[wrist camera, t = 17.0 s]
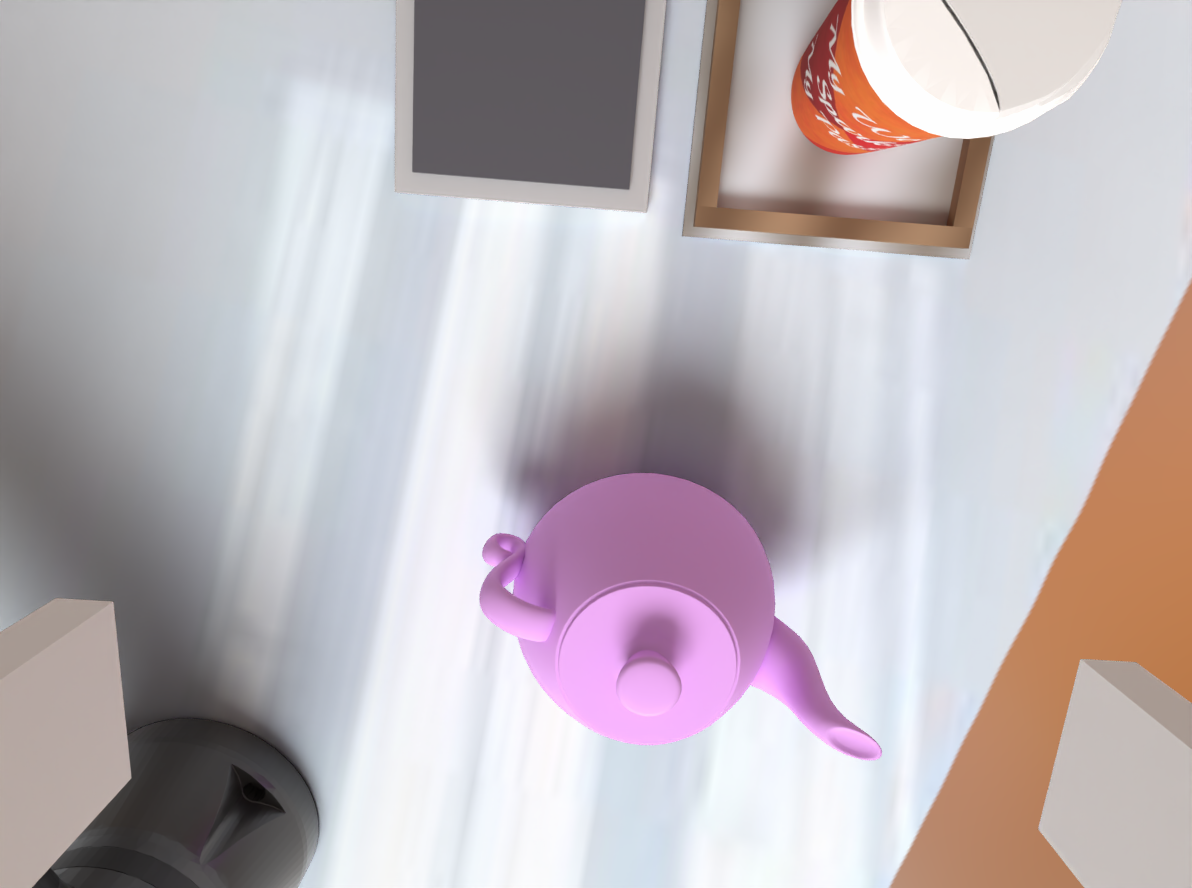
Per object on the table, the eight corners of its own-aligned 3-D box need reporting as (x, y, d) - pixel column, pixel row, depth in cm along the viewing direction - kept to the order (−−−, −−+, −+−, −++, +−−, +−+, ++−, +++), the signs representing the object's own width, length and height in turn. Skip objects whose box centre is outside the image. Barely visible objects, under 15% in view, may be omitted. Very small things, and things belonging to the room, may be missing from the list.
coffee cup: (733, 114, 36) (809, 22, 22) (839, -40, 35) (999, -252, 20) (862, 214, 37) (1016, 189, 23) (972, 70, 36) (1215, -57, 21)
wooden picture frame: (682, 236, 38) (683, 235, 37) (716, -93, 34) (719, -103, 33) (967, 259, 38) (976, 259, 37) (1034, -68, 34) (1046, -78, 33)
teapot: (859, 523, 42) (953, 628, 30) (766, 723, 45) (817, 887, 34) (531, 411, 41) (495, 475, 29) (461, 625, 44) (404, 759, 33)
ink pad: (399, 193, 38) (392, 191, 37) (401, -93, 35) (394, -105, 34) (646, 213, 38) (647, 211, 37) (672, -72, 35) (674, -83, 33)
